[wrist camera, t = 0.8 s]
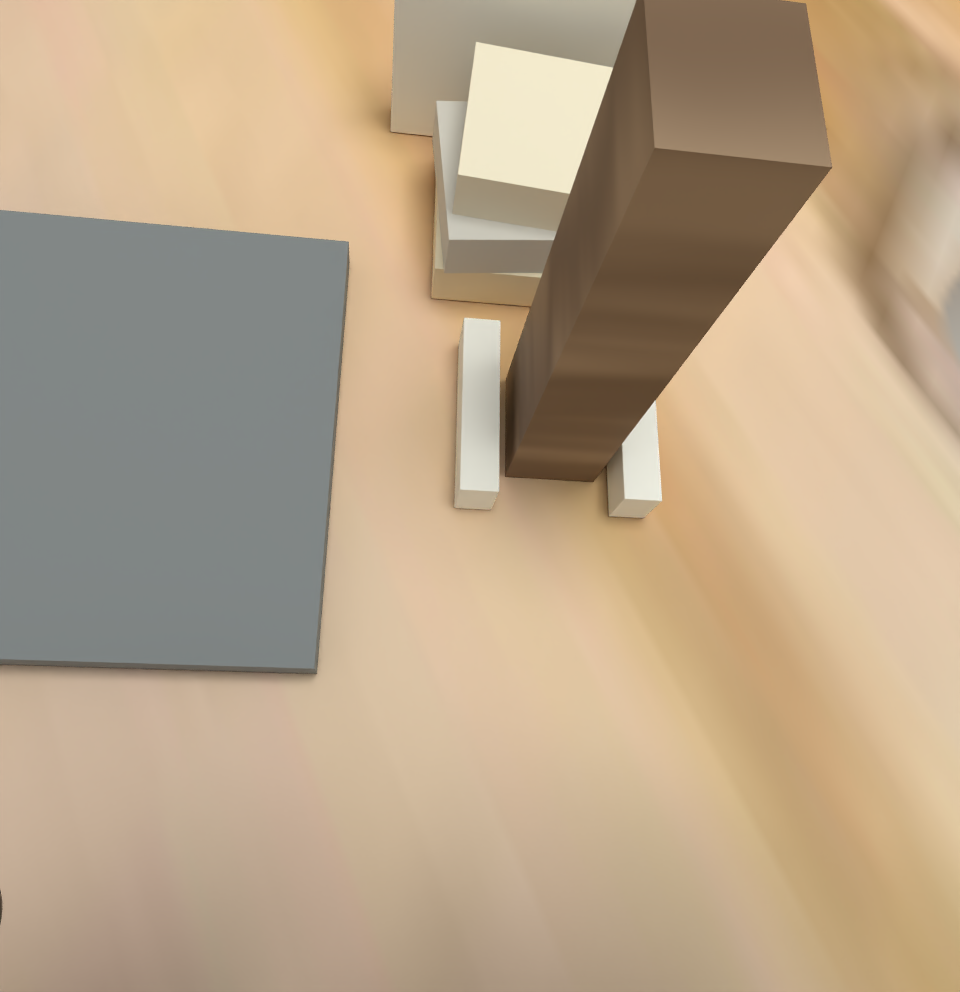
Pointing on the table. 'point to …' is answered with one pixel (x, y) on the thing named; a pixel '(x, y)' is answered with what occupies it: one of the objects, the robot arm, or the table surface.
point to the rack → (507, 187)
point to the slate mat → (165, 443)
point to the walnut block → (663, 220)
